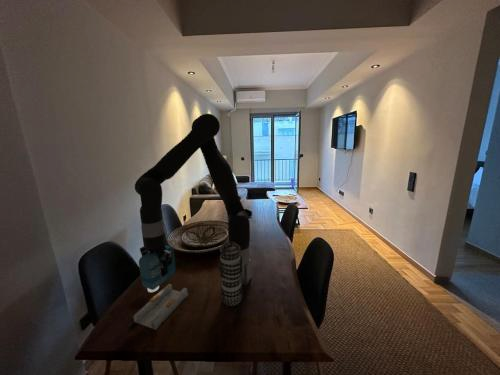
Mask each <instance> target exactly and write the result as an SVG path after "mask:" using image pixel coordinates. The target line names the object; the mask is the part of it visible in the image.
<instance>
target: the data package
mask: <svg viewBox="0 0 500 375" xmlns="http://www.w3.org/2000/svg"><path fill="white" fill-rule="evenodd" d="M165 247H166V250H168V251H171V250H172V251H173V257H172V264H171V265H169V266H168V267H167V268H168V273H167V275H166V276H164V277H163V276H162V274H161V266H160V263H158V256H157V255H154V254H153V253H151V254H148V253H147V254H146V255H144V256H142V255H141V256H140V257H139V260H138V268H139V273H140V280H141V286H142V287H144V288H145V289H147V288H148V289H151V290H154V289H155V288H157V287H158V286H159V287H160V286H161V285H162V284H163V283H165V282H166V281H167V280H169V279H170V278H171V277H172V276H173V275H174V274H175V273H176V262H175V253H174V248H173V247H172V246H171V245H170V246H169V245H166V244H165ZM158 255H159V254H158ZM162 258H164V256H163V257H162ZM162 258H160V260H161V259H162ZM163 264H164V261H163ZM148 289H147V290H148Z"/></svg>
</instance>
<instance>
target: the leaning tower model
mask: <svg viewBox="0 0 500 375" xmlns="http://www.w3.org/2000/svg"><path fill="white" fill-rule="evenodd" d="M219 253H220V257H219V259H220V261H219V262H218V263H219V264H218V266H219V274H220V275H219V276H220V279H221V287H220V289H221V291H220V292H221V294H220V295H221V301H222V303H223V304H225V305H226V306H230V307H232V306H236V305H239V304H240V303H241V301H242V299H243V298H244V297H243V295H244V294H243V285H242V284H241V276H242V273H241V272H242V256H241V255H240V246H239V245H237V244H236V243H234V242H229V241H227V242H225V243H223V244H222V245H221V246H220V247H219ZM240 258H241V259H240ZM240 261H241V262H240Z"/></svg>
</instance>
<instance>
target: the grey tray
mask: <svg viewBox="0 0 500 375" xmlns="http://www.w3.org/2000/svg"><path fill="white" fill-rule="evenodd" d="M188 296H189V293H188V288H186V287H183V288H182V289H181V290H180V291H179V290H176V289H173V285H172V284H171V283H168V284H167V285H166V286H165V287H164V288H163V289H161V290H160V291H159V292H158V293H157V294H155V295H154V296H152V297H151V298H150V300H149V301H148V302H147V303H145V305H143V306H142V307H141V308H140V309H139V310H138V311H137V312H136V313H135V314H134V315H133V320H134V321H133V322H134V323H136V324H137V325H142V326H143V327H146V328H149V329H152V330H155V331H156V330H157V329H158V328H159V327H160V326H161V325H162V324H163V323H164V322H165V320H166V319H167V318H168V317H169V316H170V315H171V314H172V313H173V312H174V311H175V310H176V308H178V306H180V304H181V303H182V302H183V301H184V300H185V299H186V298H187V297H188ZM162 322H163V323H162ZM161 323H162V324H161Z"/></svg>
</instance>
